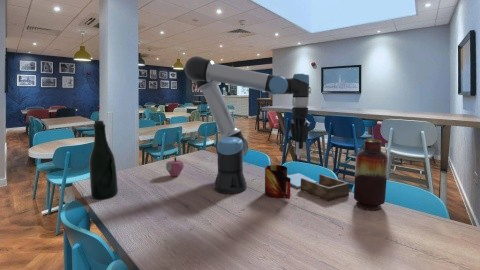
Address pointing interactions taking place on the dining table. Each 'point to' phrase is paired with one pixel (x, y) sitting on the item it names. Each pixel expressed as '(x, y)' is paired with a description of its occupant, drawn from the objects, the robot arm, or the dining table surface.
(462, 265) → the dining table surface
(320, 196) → the crate
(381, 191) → the vase
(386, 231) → the dining table surface
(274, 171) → the mug
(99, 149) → the beer bottle
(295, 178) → the pale blue square panel
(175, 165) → the apple
